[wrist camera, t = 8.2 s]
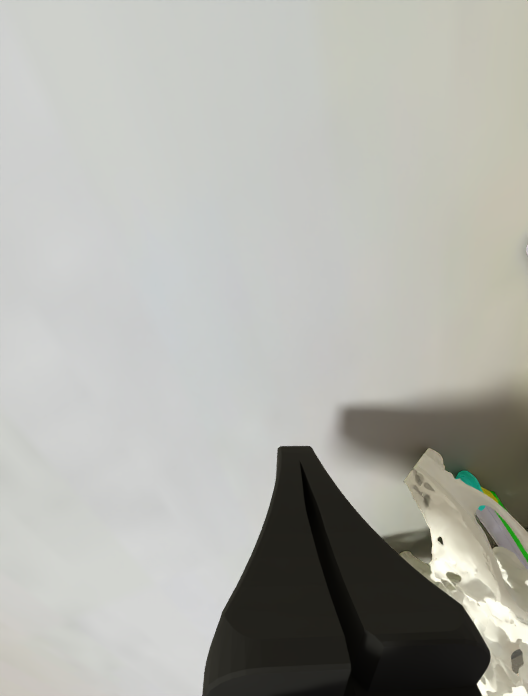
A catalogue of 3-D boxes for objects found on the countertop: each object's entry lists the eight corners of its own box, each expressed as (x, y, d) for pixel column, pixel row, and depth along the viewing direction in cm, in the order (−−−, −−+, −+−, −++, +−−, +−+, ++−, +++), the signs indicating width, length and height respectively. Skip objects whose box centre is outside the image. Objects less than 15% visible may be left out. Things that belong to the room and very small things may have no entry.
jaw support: (479, 638, 20) (460, 808, 13) (367, 531, 25) (308, 612, 18) (612, 520, 16) (694, 671, 9) (449, 419, 21) (416, 464, 14)
